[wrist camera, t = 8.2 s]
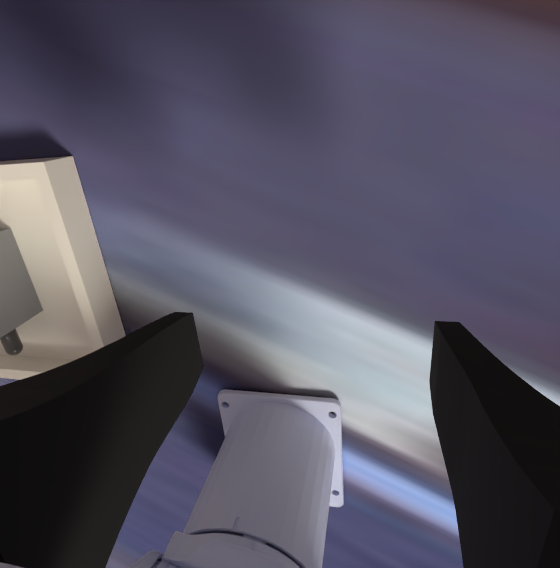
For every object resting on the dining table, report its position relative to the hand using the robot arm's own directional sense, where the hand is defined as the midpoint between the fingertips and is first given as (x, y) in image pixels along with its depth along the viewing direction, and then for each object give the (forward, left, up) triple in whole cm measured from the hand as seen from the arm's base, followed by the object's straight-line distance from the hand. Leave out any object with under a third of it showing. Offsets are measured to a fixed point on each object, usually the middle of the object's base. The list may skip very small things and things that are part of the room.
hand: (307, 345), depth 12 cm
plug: (-2, +21, -9) cm, 23 cm away
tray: (-2, +21, -9) cm, 23 cm away
